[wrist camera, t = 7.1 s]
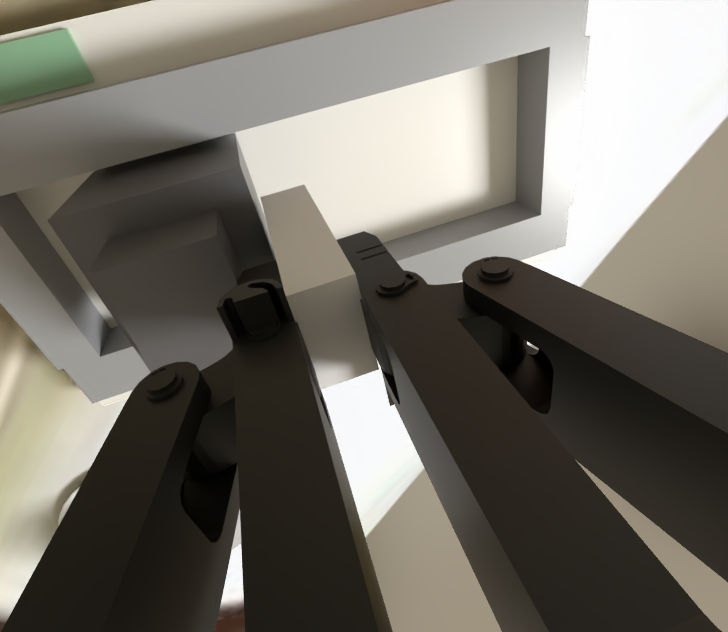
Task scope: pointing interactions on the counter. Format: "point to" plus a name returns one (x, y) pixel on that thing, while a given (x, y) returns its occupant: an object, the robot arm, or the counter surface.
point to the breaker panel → (293, 134)
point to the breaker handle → (168, 245)
